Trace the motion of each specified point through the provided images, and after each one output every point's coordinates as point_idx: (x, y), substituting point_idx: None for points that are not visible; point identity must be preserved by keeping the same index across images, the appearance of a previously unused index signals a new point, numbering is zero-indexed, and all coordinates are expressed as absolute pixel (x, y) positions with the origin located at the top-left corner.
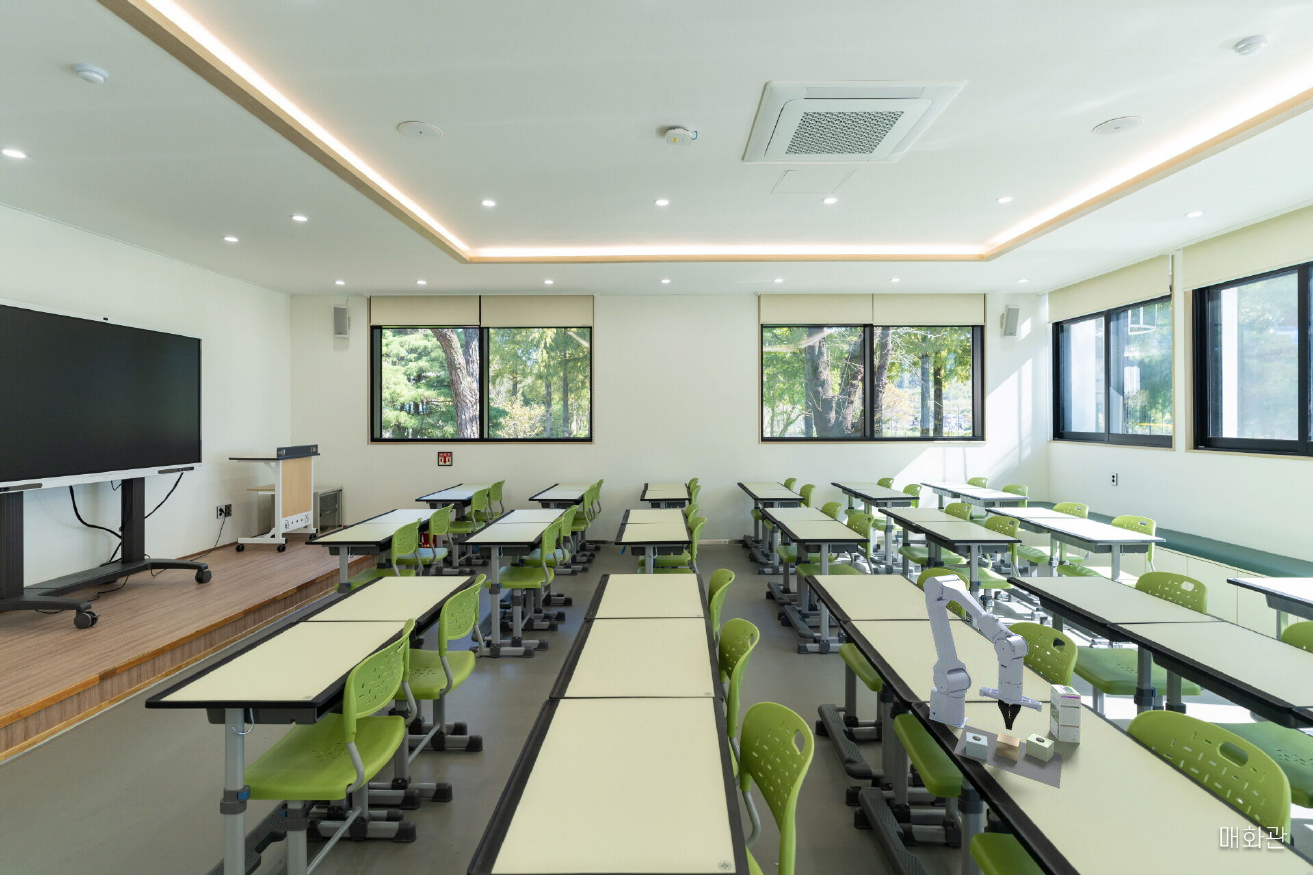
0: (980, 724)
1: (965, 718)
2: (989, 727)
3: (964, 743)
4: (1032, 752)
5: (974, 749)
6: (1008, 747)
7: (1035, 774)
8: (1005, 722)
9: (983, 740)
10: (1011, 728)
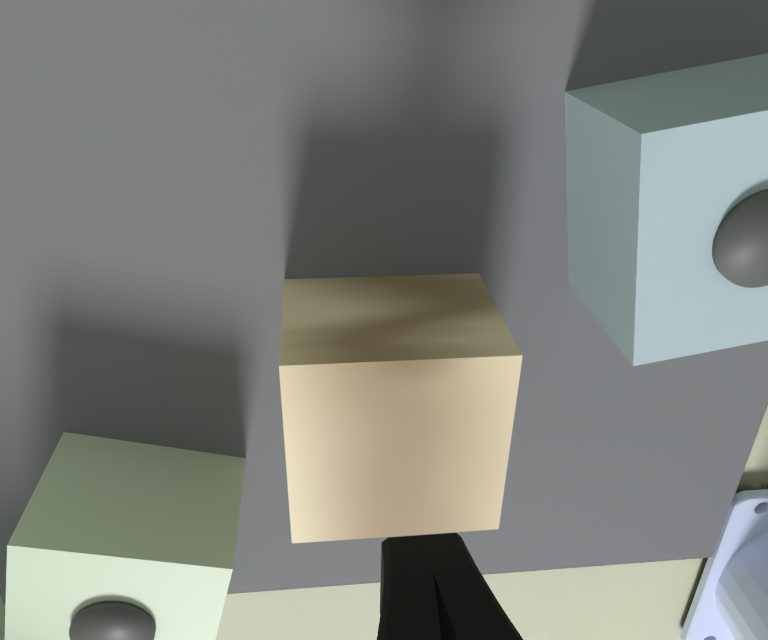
0: (593, 625)
1: (701, 626)
2: (533, 626)
3: None
4: (185, 472)
5: (748, 81)
6: (383, 336)
7: (77, 130)
8: (494, 611)
9: (681, 244)
10: (386, 560)
